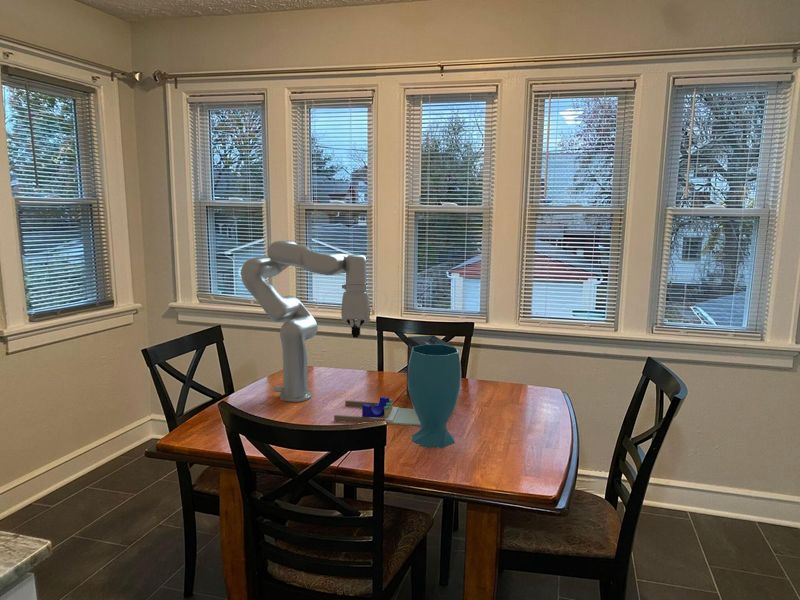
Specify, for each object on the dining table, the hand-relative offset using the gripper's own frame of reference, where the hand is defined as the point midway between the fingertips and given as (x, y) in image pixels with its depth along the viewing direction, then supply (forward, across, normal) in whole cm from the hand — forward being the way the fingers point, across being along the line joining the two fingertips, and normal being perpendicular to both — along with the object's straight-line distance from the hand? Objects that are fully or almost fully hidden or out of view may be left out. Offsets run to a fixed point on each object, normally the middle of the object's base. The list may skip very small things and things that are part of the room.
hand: (355, 336), depth 207 cm
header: (+27, +12, -8) cm, 31 cm away
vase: (+27, +32, -26) cm, 49 cm away
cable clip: (+28, +9, -9) cm, 30 cm away
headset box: (+27, +27, +12) cm, 40 cm away
